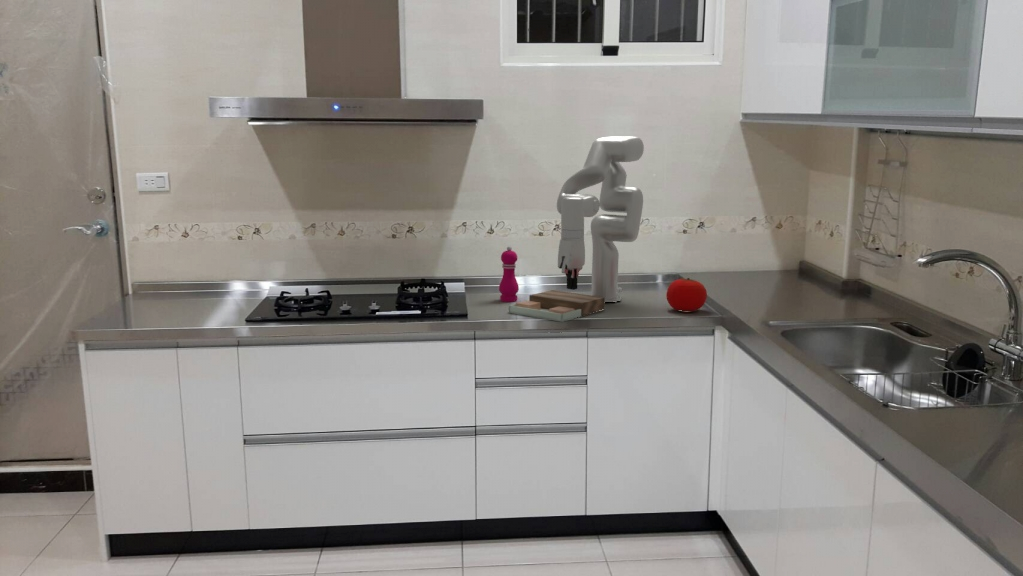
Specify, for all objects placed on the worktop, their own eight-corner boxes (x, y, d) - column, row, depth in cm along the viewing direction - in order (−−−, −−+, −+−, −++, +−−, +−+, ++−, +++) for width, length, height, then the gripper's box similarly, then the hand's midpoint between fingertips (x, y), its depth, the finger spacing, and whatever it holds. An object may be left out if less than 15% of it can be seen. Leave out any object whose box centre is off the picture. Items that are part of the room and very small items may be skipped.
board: (552, 302, 290) (552, 290, 290) (604, 310, 277) (604, 297, 276) (529, 307, 279) (529, 295, 279) (581, 316, 266) (582, 303, 265)
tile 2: (548, 308, 262) (548, 316, 263) (564, 311, 258) (563, 318, 259) (559, 306, 267) (559, 313, 267) (574, 308, 263) (574, 316, 264)
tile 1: (515, 302, 272) (515, 310, 272) (529, 305, 268) (529, 312, 268) (526, 300, 276) (526, 307, 277) (540, 302, 273) (540, 309, 273)
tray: (528, 308, 279) (528, 301, 279) (581, 316, 266) (581, 309, 265) (508, 312, 271) (508, 305, 270) (562, 321, 257) (562, 314, 257)
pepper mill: (495, 301, 291) (495, 246, 288) (504, 298, 297) (505, 244, 294) (512, 303, 288) (513, 247, 284) (521, 299, 294) (522, 245, 291)
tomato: (662, 307, 284) (664, 274, 282) (700, 307, 284) (702, 275, 282) (670, 314, 271) (671, 280, 269) (710, 315, 271) (712, 281, 269)
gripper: (575, 231, 271) (575, 283, 275) (550, 236, 260) (549, 291, 264) (594, 232, 267) (593, 286, 270) (569, 238, 255) (568, 294, 259)
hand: (572, 288), depth 267 cm, fingers closed
